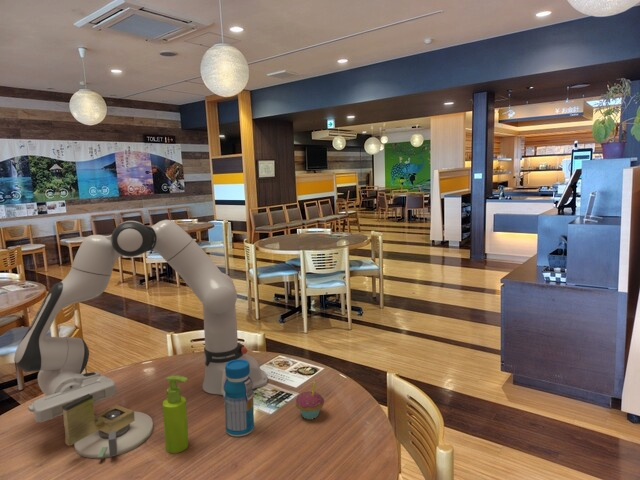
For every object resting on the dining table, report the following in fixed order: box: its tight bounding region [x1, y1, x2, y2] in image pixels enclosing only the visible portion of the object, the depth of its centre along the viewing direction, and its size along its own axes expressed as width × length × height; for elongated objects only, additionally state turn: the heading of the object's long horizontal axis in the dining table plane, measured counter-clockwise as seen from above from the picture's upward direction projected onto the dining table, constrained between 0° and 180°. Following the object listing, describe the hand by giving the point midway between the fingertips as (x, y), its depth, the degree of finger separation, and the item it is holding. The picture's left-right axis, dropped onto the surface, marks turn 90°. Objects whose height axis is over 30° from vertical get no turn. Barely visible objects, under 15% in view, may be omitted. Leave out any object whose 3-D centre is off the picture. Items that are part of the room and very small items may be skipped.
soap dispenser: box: [162, 375, 189, 454], centre depth 114 cm, size 6×7×20 cm
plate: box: [73, 411, 154, 459], centre depth 119 cm, size 20×22×6 cm
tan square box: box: [99, 411, 130, 439], centre depth 120 cm, size 8×8×5 cm
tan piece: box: [62, 394, 135, 447], centre depth 115 cm, size 17×8×12 cm, turn 152°
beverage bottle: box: [223, 359, 255, 438], centre depth 122 cm, size 8×8×20 cm
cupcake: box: [295, 379, 325, 420], centre depth 129 cm, size 9×8×12 cm
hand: (86, 408), depth 114 cm, fingers closed
